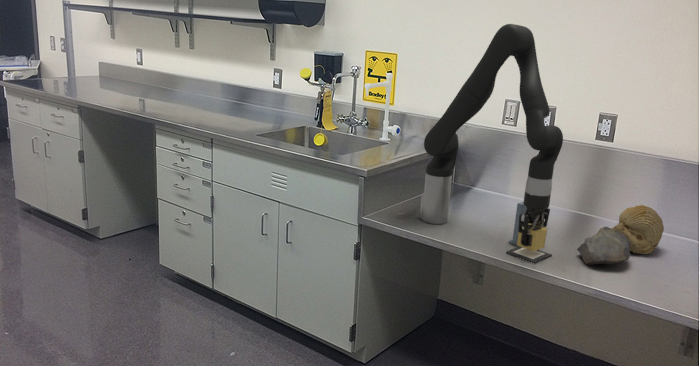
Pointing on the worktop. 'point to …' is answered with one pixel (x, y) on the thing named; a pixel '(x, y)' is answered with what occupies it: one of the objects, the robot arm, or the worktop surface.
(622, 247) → the stone
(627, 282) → the worktop surface
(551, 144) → the robot arm
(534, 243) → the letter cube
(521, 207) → the screen
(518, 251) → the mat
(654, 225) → the fossil
